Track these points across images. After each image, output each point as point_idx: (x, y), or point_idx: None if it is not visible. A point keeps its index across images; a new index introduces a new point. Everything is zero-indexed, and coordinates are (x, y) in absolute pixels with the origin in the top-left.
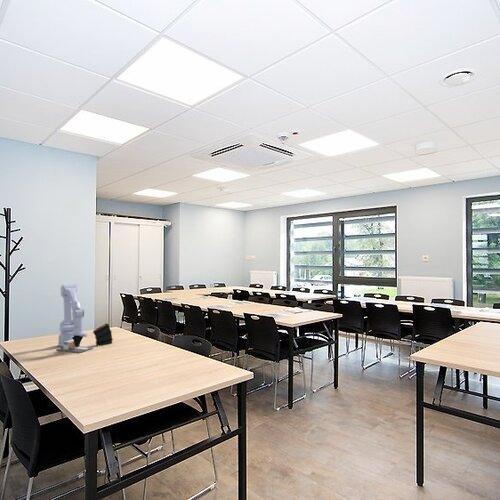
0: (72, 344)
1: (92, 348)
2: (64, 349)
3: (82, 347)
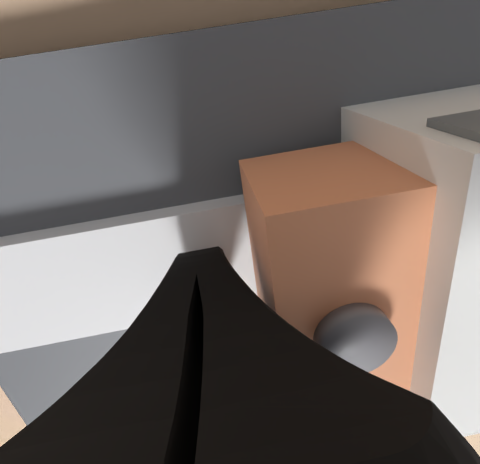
0: (254, 198)
1: (27, 407)
2: (424, 60)
3: (124, 326)
